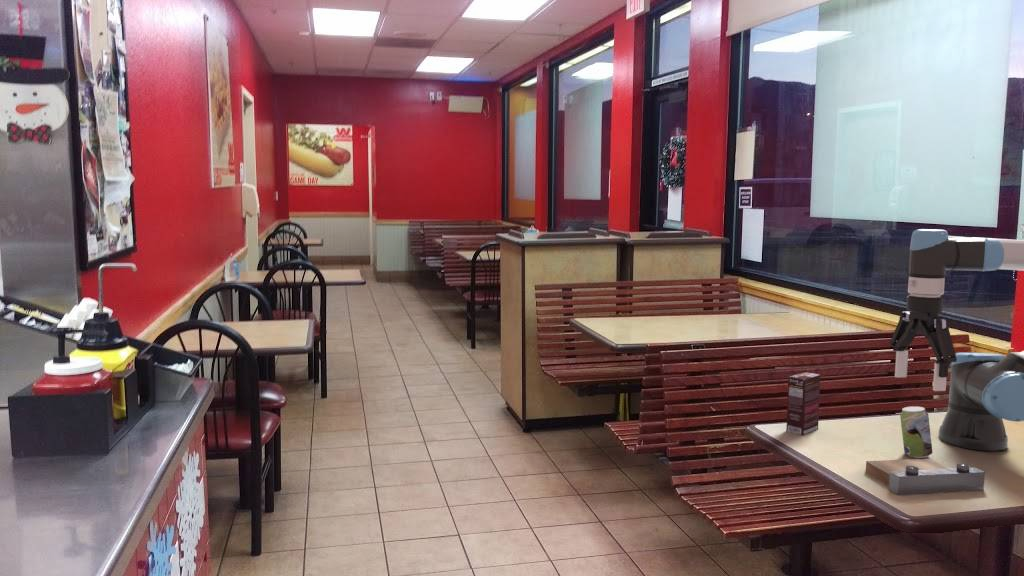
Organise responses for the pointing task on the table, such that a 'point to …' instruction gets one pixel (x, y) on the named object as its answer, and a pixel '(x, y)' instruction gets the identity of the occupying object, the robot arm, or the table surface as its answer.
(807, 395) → the supplement box
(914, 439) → the beverage can
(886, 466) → the brown wooden board
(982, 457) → the table surface
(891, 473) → the stop bar
